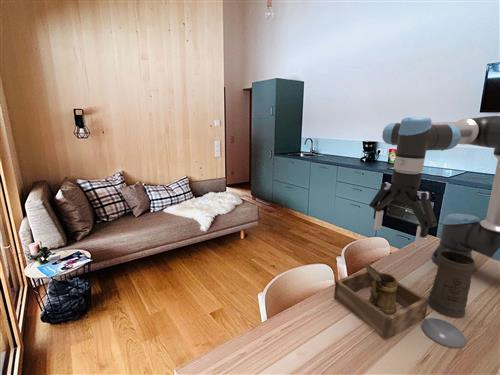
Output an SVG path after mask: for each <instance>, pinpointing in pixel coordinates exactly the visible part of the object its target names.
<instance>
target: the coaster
mask: <svg viewBox="0 0 500 375" xmlns="http://www.w3.org/2000/svg"><path fill="white" fill-rule="evenodd" d="M421 329H422V332H423V333H424V334H425V335H426V337H427V338H428V339H430V340H432V341H433V342H435V343H437V344H438V345H440V346H443V347H446V348H451V349H460V348H462V347H464V346H465V344H466V337H465V334H464V333H463V331H462V330H461V329H459V328H458V327H457V326H456V325H455V324H452V323H450V322H448V321H446V320H443V319H440V318H436V317H428V318H424V319H422V322H421Z"/></svg>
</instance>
